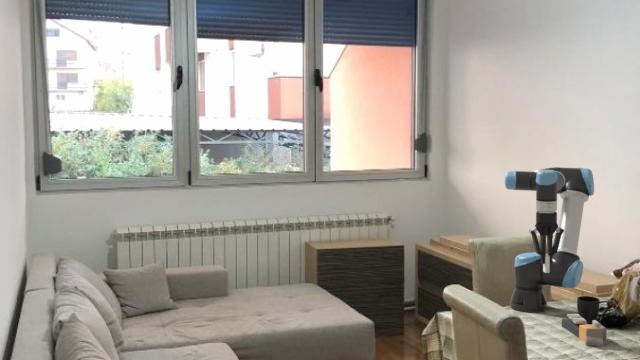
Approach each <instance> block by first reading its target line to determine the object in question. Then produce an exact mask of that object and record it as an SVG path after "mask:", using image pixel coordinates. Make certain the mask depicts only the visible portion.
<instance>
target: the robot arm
mask: <svg viewBox="0 0 640 360" xmlns="http://www.w3.org/2000/svg"><path fill="white" fill-rule="evenodd" d="M594 179H595V178H594V174H593V171H592V170H591V169H590V168H586V167H584V168H583V167H558V166H555V167H548V168H541V169H539V168H538V169H536V170H534V171H531V170H529V171H525V170H524V171H521V170H520V171H518V170H510V171H509V170H508V171H507V172H506V173H505V176H504V186H505V188H506V189H507V190H511V191H530V192H533V191H534V192H536V193H535V196H536V197H535V199H536V200H535V203H536V204H535V210H536V212H535V225H534V227H532V228H531V229H528V230H529V231H528V232H529V233H530V236H531V238H532V244H533V246H534V250H535V252H534V251H533V252H524V253H520V254H517V255H516V256H515V258H514V289H513V292H512V295H511V297H510V301H509V307H510V308H511V309H512V310H515V311H518V312H526V313H540V312H546V310H547V309H548V302H547V298H546V295H545V293H544V286H548V287H555V288H563V289H575V288H577V287H578V286H579V285H580V282H581V279H582V276H583V273H584V271H583V270H584V263H583V261H582V260H580V259H581V257H580V256H579V254H578V246H579V239H580V232H581V225H582V219H583V212H584V207H585V203H586V202H588V201H589V197H591V196H593V195H594V194H595V182H594V181H595V180H594ZM558 195H559V196H560V198H561V199H562V205H561V211H560V212H561V213H560V216H559V217H560V218H559V223H558V222H557V221H558V212H557V210H558ZM537 232H538V233H539V238H538V235H537ZM554 234H555V236H554ZM553 238H554V240H553ZM539 239H540V240H539ZM539 241H540V244H539Z"/></svg>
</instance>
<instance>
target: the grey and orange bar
mask: <svg viewBox="0 0 640 360" xmlns="http://www.w3.org/2000/svg"><path fill="white" fill-rule="evenodd" d="M561 327H562V328H563V329H565V330H566V331H568V332H570V333H571V334H572V335H574V336H575V337H577V339H579V340H581V341H582V342H584V343H585V337H586V328H597V327H596V326H594V325H593V324H588V325H577V324H576V323H574V322H573V321H572V319H570V318H562V319H561Z"/></svg>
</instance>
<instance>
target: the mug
mask: <svg viewBox="0 0 640 360" xmlns="http://www.w3.org/2000/svg"><path fill="white" fill-rule="evenodd" d="M602 303H603V304H604V303H605V304H606V303H607V307H606V309H605V311H604V312H602V314H601V316H602V315H604V316H605V315H606V314H607V312H608V311H609V309H610V307H611V302H610V301H608V300H601V301H600V299H599V298H598V297H596V296H595V297H594V296H589V295H582V296H577V298H576V307H577V314H579V315H580V316H581V317H582V318H584V319H585V320H586V321H587V324H588V325H590V324H592V320H596V321H597V322H600V321H601V320H600V317H601V316H599V312H600V305H601V304H602Z"/></svg>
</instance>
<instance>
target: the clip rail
mask: <svg viewBox="0 0 640 360" xmlns="http://www.w3.org/2000/svg"><path fill="white" fill-rule="evenodd" d="M566 317H567V319H570V320H571V321H573V322H574V323H576V324H577V325H589V324H587V321H586V320H585V319H584V318H582V317H581V316H580V315H579V314H578V313H567V314H566ZM592 324H593V325H594V326H596V327H597V328H586V337H585V342H584V343H585V346H607V336H608V335H607V330H608V329H607V328H606V327H605V326H604V325H602V324H601V323H600V321H598V322H597V321H596V320H592Z"/></svg>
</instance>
